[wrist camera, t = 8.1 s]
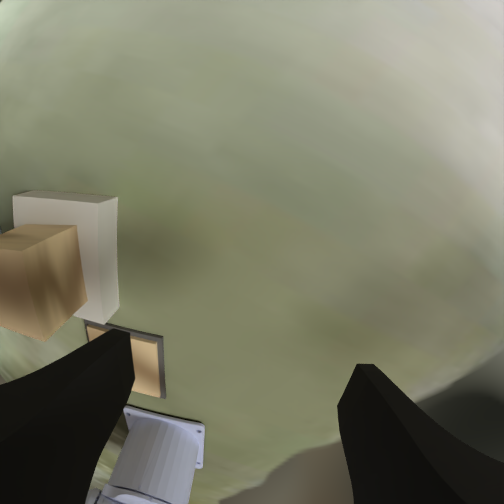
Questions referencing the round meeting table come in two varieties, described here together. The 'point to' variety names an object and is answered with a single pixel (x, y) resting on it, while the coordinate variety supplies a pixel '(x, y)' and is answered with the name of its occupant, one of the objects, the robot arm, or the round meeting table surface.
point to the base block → (81, 241)
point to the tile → (140, 357)
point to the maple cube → (40, 279)
